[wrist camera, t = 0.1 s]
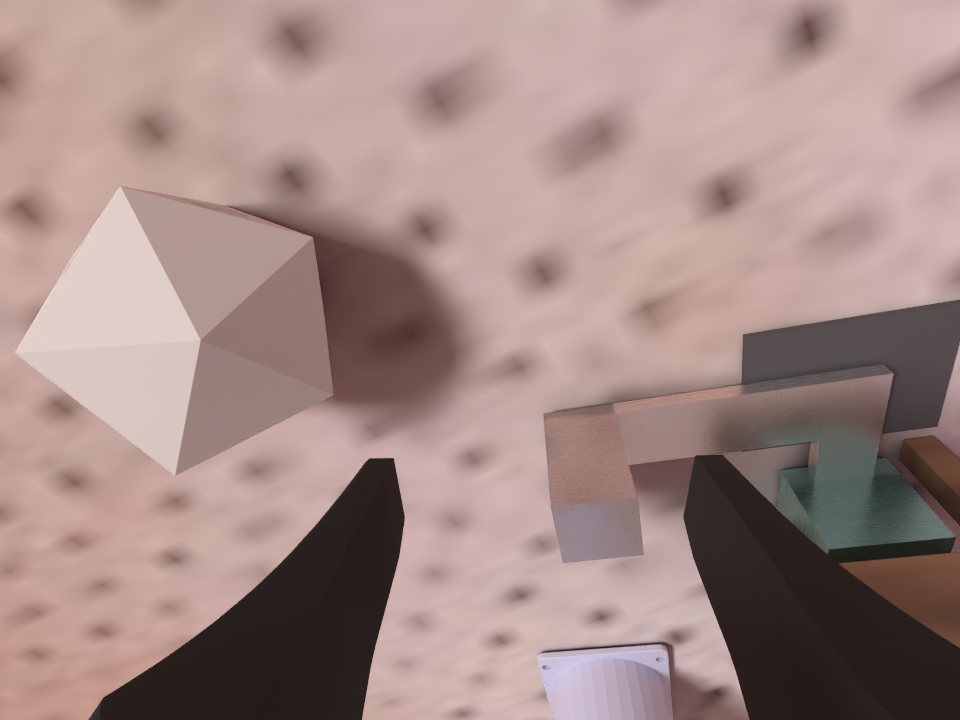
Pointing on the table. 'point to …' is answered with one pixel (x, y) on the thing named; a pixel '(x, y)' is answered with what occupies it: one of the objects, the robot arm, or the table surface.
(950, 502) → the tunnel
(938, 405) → the dark grey plate
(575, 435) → the hook
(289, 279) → the die
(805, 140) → the table surface
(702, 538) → the robot arm
